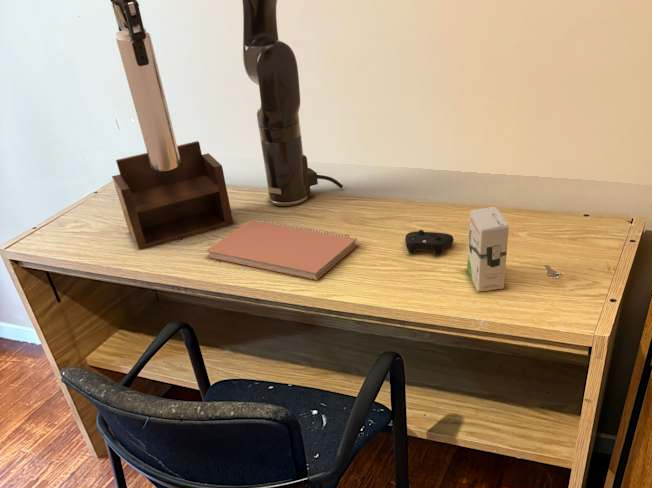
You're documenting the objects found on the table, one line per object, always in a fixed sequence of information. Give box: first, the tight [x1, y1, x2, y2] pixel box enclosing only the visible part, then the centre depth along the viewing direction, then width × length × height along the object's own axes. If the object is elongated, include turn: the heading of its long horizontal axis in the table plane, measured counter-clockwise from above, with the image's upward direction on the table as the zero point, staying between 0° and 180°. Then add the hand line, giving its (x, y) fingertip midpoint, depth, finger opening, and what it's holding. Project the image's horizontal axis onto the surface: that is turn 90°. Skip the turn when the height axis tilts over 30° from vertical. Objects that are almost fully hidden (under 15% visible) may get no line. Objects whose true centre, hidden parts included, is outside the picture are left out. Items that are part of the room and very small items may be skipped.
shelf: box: [111, 140, 235, 250], centre depth 145 cm, size 22×10×16 cm, turn 115°
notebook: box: [205, 219, 358, 281], centre depth 136 cm, size 27×17×2 cm, turn 59°
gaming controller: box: [404, 229, 454, 256], centre depth 131 cm, size 10×5×6 cm
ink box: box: [466, 206, 510, 292], centre depth 117 cm, size 9×5×12 cm, turn 5°
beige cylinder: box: [115, 28, 181, 171], centre depth 132 cm, size 6×6×25 cm
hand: (139, 61), depth 128 cm, fingers closed on beige cylinder, 6 cm apart
